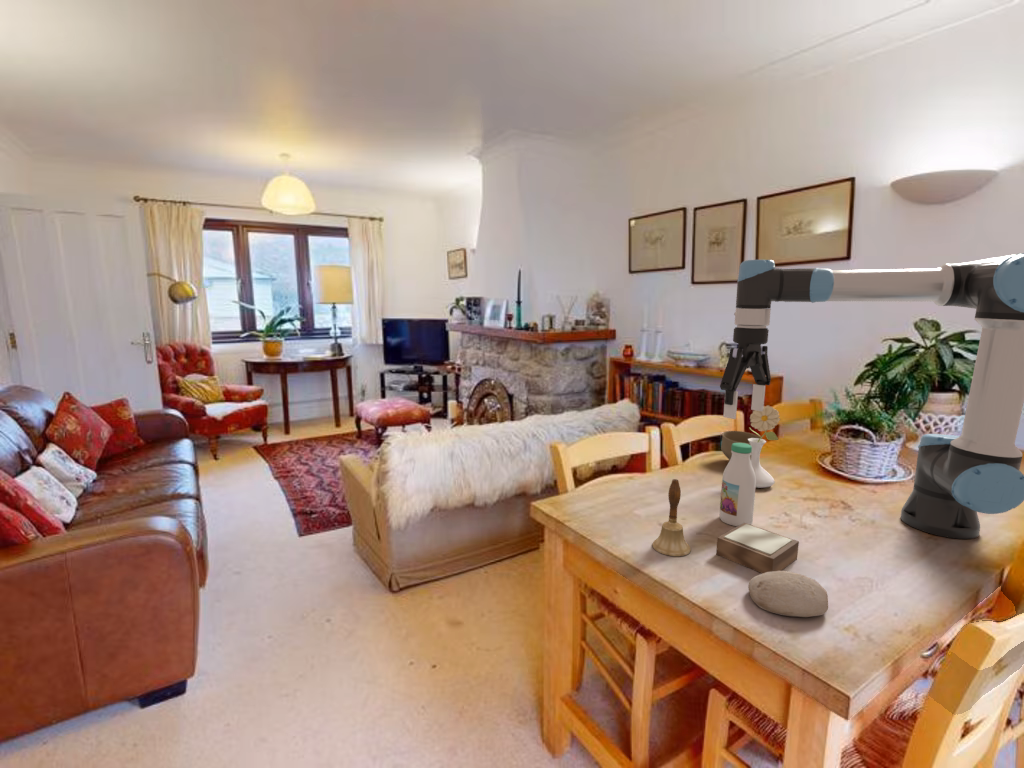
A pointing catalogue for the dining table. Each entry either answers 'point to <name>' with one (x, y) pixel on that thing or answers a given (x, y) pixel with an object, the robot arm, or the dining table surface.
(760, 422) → the flower in vase
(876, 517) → the dining table surface
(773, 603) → the stone
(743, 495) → the milk bottle
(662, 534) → the hand bell
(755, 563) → the plinth
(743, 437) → the bowl
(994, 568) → the dining table surface
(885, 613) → the dining table surface
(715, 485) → the dining table surface
